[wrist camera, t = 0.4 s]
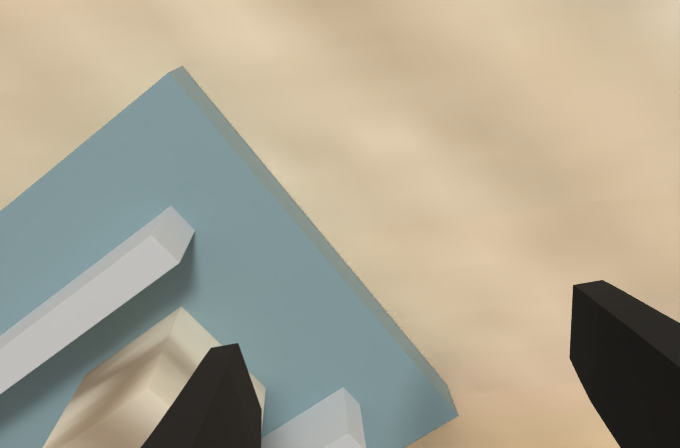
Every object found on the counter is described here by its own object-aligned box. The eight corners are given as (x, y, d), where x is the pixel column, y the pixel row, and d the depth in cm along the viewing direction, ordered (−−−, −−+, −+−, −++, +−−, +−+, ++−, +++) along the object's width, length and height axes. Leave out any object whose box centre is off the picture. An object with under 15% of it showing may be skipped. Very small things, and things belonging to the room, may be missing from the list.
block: (174, 447, 22) (145, 549, 18) (85, 374, 20) (29, 468, 16) (265, 387, 21) (257, 480, 17) (181, 306, 19) (148, 387, 15)
